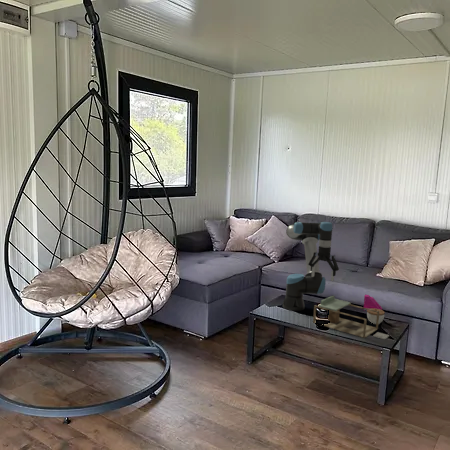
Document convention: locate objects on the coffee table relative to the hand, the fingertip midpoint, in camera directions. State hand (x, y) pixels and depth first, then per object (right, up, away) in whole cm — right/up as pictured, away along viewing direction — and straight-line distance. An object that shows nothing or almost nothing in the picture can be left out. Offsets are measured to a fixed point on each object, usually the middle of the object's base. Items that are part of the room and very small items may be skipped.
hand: (322, 278), depth 289 cm
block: (+6, -27, -4) cm, 28 cm away
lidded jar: (+34, -28, -1) cm, 44 cm away
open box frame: (+12, -29, -9) cm, 32 cm away
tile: (+30, -31, -23) cm, 49 cm away
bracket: (+41, -25, +25) cm, 54 cm away
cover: (+7, -16, -5) cm, 18 cm away
